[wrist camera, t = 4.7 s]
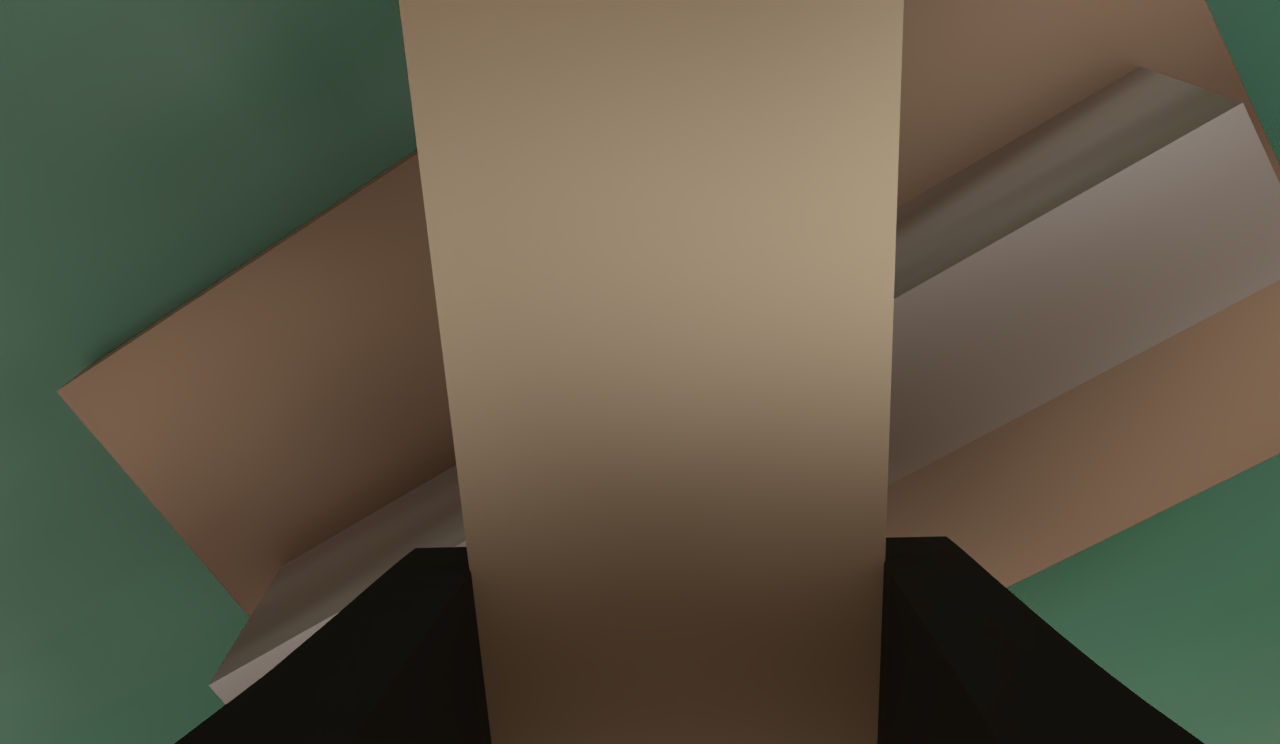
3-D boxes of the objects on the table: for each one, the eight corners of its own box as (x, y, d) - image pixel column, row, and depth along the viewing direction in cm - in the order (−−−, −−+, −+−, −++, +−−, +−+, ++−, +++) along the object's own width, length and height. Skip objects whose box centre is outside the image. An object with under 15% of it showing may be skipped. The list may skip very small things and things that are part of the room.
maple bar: (810, 1043, 18) (854, 1460, 13) (606, 1044, 18) (579, 1456, 13) (823, -672, 10) (943, -1146, 5) (459, -645, 10) (265, -1078, 5)
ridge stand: (88, 366, 18) (-65, 483, 15) (1052, -270, 15) (1177, -330, 11) (466, 816, 21) (419, 1011, 17) (1349, 374, 18) (1527, 500, 14)
